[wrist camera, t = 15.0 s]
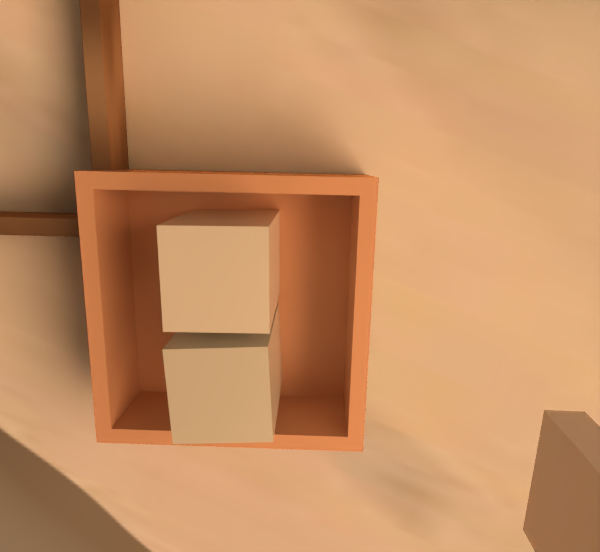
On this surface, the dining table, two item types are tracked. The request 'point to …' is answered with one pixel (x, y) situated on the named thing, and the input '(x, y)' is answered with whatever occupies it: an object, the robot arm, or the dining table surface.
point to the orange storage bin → (292, 299)
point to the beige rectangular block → (223, 385)
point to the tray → (90, 114)
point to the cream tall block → (219, 271)
